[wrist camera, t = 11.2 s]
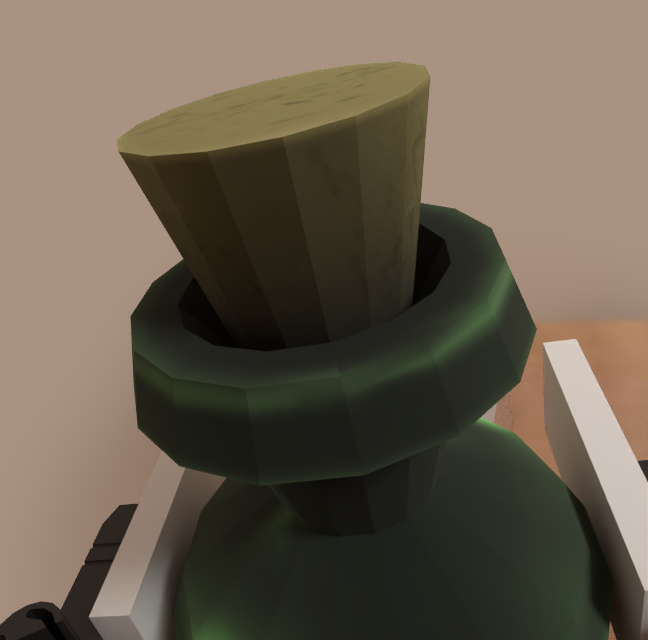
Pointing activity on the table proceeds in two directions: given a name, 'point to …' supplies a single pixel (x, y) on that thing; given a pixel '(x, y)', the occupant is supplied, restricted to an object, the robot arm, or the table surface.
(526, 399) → the table surface
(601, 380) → the table surface
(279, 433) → the potion bottle
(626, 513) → the robot arm
